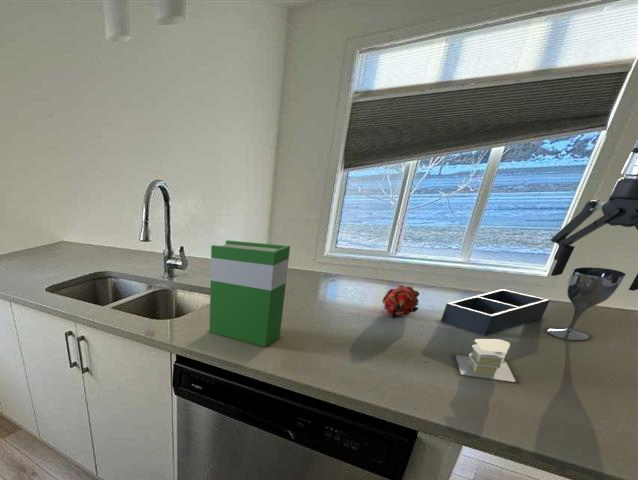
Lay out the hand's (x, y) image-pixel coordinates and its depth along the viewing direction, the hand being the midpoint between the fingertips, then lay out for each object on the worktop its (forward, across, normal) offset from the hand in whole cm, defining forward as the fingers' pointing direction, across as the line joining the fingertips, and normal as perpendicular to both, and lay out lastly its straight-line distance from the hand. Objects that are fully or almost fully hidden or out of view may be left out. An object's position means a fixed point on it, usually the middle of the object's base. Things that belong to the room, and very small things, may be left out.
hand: (592, 281), depth 91 cm
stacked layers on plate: (+13, +2, -32) cm, 34 cm away
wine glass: (+13, 0, 0) cm, 13 cm away
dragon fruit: (+13, -29, -20) cm, 37 cm away
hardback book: (+14, -39, -65) cm, 77 cm away
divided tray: (+13, -14, -5) cm, 20 cm away
